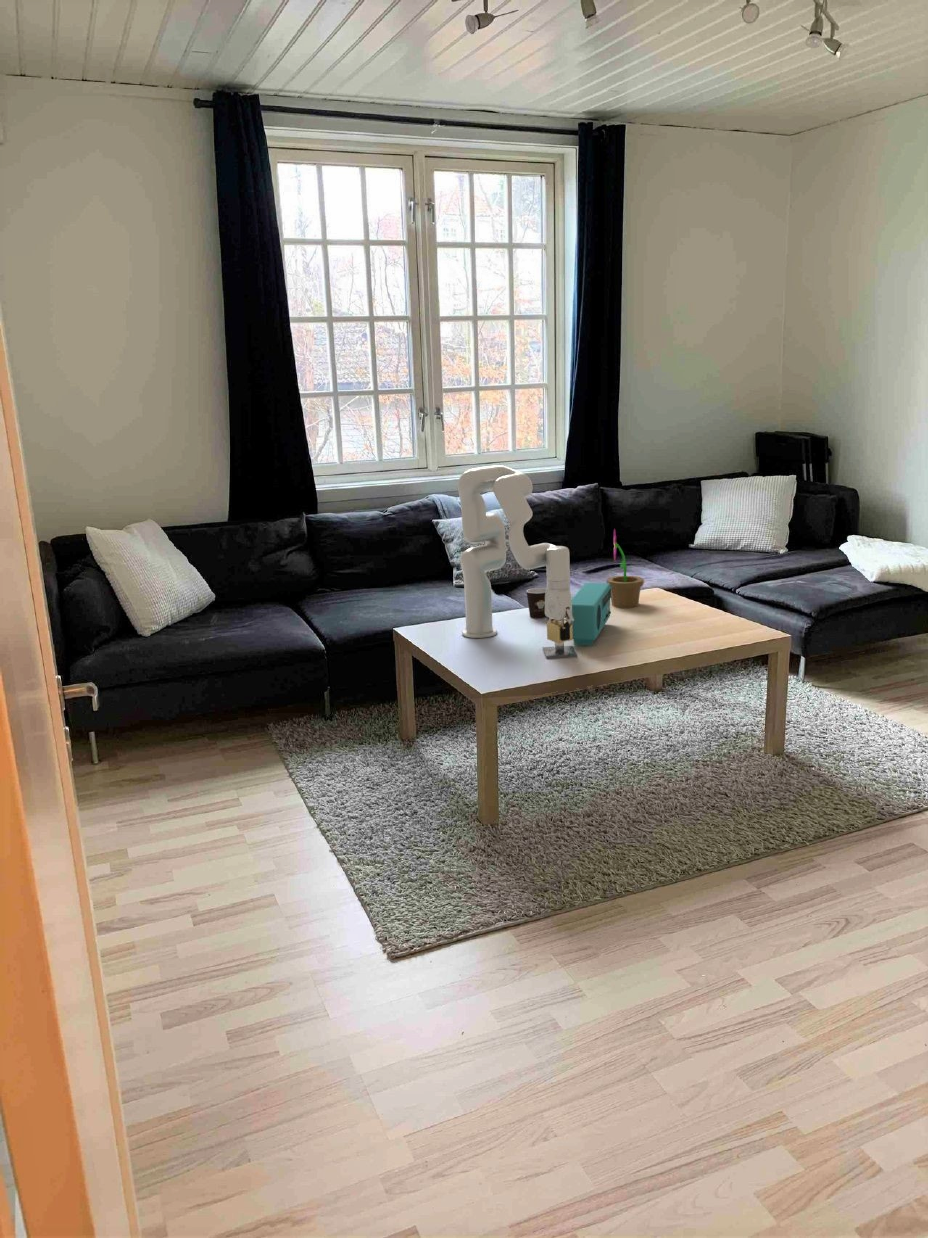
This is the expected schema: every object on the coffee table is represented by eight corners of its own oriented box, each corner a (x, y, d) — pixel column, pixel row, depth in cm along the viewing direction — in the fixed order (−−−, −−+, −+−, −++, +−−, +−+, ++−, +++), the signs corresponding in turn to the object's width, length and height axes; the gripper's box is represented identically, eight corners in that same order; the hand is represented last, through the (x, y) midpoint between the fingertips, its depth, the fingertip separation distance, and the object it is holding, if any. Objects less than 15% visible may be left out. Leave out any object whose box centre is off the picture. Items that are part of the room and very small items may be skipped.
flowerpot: (605, 600, 382) (605, 526, 374) (642, 600, 381) (642, 525, 373) (607, 609, 368) (607, 533, 361) (645, 609, 367) (645, 532, 359)
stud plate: (542, 650, 320) (542, 634, 319) (572, 648, 321) (572, 633, 319) (546, 658, 311) (546, 642, 309) (576, 657, 311) (576, 641, 310)
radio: (597, 649, 319) (597, 605, 315) (566, 647, 322) (566, 604, 318) (613, 622, 350) (613, 582, 347) (585, 621, 354) (584, 582, 350)
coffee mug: (525, 618, 360) (524, 593, 358) (528, 613, 368) (528, 588, 366) (555, 619, 358) (555, 593, 355) (558, 613, 366) (558, 588, 363)
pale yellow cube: (547, 639, 315) (546, 621, 314) (562, 636, 318) (562, 618, 317) (557, 643, 310) (556, 625, 309) (572, 640, 313) (572, 622, 312)
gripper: (534, 581, 315) (536, 634, 320) (563, 590, 300) (565, 645, 305) (553, 578, 319) (554, 630, 323) (583, 587, 304) (584, 641, 308)
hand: (559, 637), depth 314 cm, fingers closed on pale yellow cube, 6 cm apart
